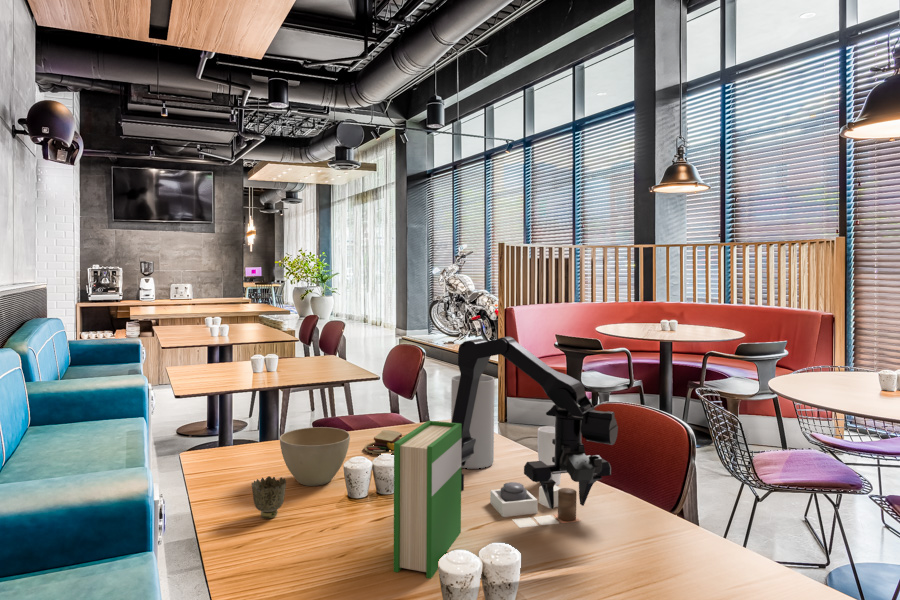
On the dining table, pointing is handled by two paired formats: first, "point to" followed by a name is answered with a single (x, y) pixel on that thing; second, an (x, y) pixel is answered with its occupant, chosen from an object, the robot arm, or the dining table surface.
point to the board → (522, 510)
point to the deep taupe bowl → (314, 453)
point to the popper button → (513, 492)
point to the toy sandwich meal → (383, 442)
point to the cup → (268, 495)
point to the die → (543, 498)
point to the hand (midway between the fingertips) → (566, 506)
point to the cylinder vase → (480, 422)
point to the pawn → (567, 504)
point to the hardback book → (427, 495)
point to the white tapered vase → (547, 448)
